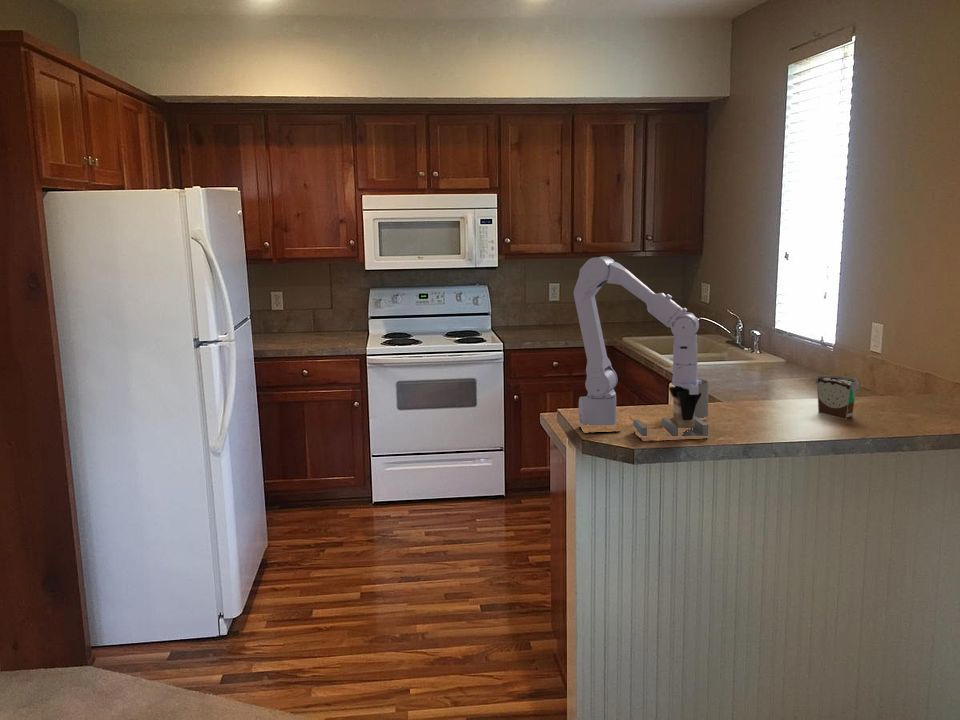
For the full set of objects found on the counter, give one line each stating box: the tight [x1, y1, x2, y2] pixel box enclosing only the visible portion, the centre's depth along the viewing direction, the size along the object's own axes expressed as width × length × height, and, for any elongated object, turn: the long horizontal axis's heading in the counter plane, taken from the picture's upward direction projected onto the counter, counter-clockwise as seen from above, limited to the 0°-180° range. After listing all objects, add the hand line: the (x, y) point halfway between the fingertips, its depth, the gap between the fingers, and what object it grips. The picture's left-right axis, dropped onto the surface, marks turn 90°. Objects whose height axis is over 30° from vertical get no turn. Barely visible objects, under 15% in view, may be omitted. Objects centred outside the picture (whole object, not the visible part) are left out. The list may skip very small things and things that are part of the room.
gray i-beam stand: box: [632, 416, 709, 437], centre depth 191 cm, size 16×9×4 cm, turn 93°
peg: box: [672, 396, 695, 428], centre depth 190 cm, size 4×4×7 cm
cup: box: [695, 378, 710, 418], centre depth 208 cm, size 8×8×10 cm
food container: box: [814, 374, 860, 421], centre depth 205 cm, size 12×6×10 cm, turn 22°
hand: (684, 417), depth 191 cm, fingers closed on peg, 4 cm apart
